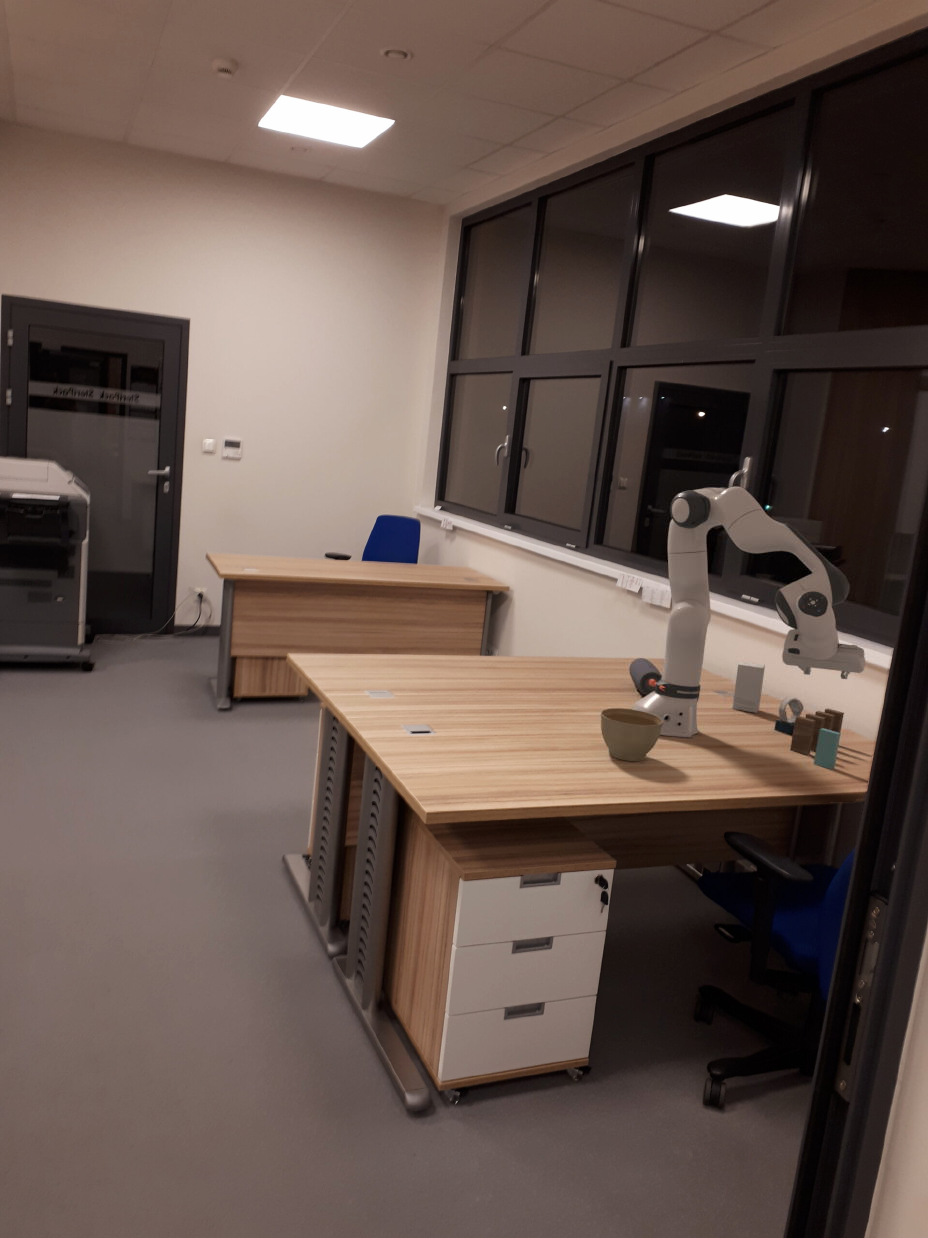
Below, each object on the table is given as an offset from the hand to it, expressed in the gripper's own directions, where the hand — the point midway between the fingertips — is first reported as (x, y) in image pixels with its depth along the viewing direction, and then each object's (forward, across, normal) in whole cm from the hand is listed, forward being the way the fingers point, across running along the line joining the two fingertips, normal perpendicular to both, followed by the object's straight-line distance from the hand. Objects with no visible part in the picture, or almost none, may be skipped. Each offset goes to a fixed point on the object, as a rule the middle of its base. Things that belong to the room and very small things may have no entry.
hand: (826, 674), depth 251 cm
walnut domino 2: (+33, +7, +3) cm, 34 cm away
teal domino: (+23, 0, +14) cm, 27 cm away
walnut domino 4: (+42, +5, -5) cm, 43 cm away
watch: (+42, +18, -7) cm, 46 cm away
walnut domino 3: (+38, +6, -1) cm, 38 cm away
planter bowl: (-8, +42, +39) cm, 58 cm away
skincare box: (+54, +36, -20) cm, 67 cm away
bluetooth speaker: (+45, +68, -16) cm, 84 cm away
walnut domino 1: (+29, +9, +8) cm, 31 cm away
